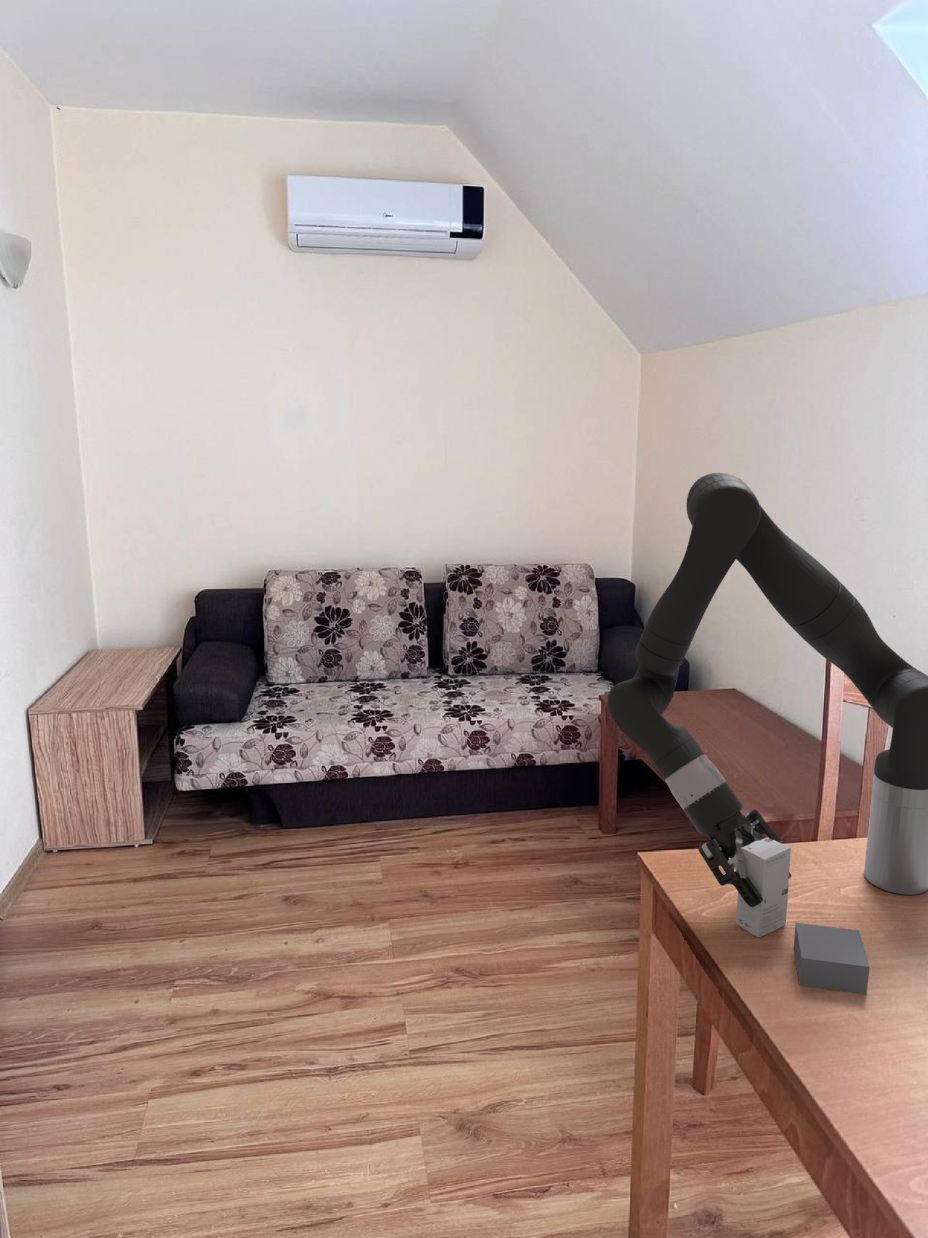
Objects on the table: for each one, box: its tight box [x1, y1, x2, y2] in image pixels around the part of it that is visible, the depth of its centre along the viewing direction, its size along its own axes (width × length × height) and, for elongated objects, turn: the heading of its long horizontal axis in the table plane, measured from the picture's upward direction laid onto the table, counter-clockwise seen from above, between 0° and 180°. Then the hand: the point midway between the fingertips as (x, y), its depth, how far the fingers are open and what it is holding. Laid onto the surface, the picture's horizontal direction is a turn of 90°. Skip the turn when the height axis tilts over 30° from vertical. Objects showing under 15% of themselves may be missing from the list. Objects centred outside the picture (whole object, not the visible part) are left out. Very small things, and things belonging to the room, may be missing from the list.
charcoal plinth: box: [793, 922, 871, 995], centre depth 116 cm, size 8×8×4 cm
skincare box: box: [736, 837, 792, 938], centre depth 125 cm, size 6×4×12 cm
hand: (772, 892), depth 124 cm, fingers open, 8 cm apart
